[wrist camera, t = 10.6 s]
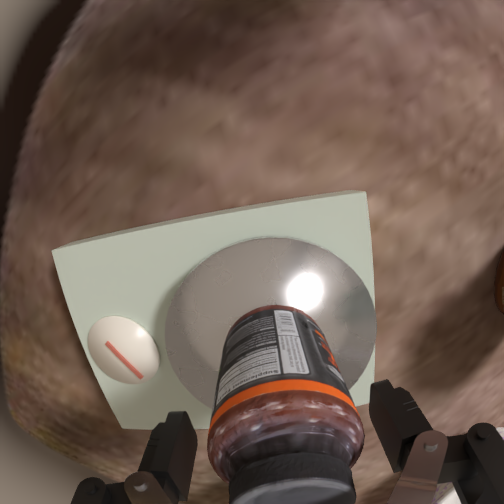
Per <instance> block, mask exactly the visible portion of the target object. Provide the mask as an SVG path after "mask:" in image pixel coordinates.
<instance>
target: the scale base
mask: <svg viewBox="0 0 504 504" xmlns="http://www.w3.org/2000/svg"><path fill="white" fill-rule="evenodd" d="M268 235H274V236H289V237H295V238H300V239H304V240H307V241H310V242H314V243H316V244H318V245H320V246H322V247H324V248H326V249H328V250H330V251H331V252H333V253H334V254H336V255H337V256H339V257H340V258H341V259H342V260H343V261H344V262H345V263H347V264H348V265H349V266H350V267H351V268H352V269H353V270H354V271H355V272H356V274H357V275H358V276H359V277H360V278H361V280H362V281H363V283H364V284H365V286H366V288H367V289H368V291H369V294H370V296H371V299H372V301H373V304H374V309H375V298H374V274H373V258H372V245H371V233H370V223H369V213H368V204H367V196H366V192H364V191H355V190H347V191H340V192H332V193H325V194H318V195H312V196H305V197H298V198H292V199H286V200H279V201H273V202H267V203H261V204H255V205H249V206H243V207H238V208H232V209H226V210H221V211H215V212H210V213H205V214H199V215H194V216H189V217H184V218H179V219H174V220H169V221H164V222H159V223H154V224H149V225H145V226H140V227H135V228H131V229H126V230H122V231H117V232H113V233H108V234H104V235H99V236H95V237H91V238H87V239H82V240H78V241H74V242H71V243H68V244H66V245H63V246H61V247H59V248H56V249H54V250H52V254H53V258H54V262H55V266H56V269H57V273H58V276H59V280H60V283H61V286H62V290H63V293H64V296H65V299H66V302H67V305H68V308H69V311H70V314H71V317H72V319H73V322H74V325H75V328H76V330H77V333H78V336H79V338H80V341H81V343H82V346H83V348H84V351H85V353H86V355H87V358H88V360H89V362H90V365H91V367H92V369H93V372H94V374H95V376H96V378H97V380H98V382H99V385H100V387H101V389H102V391H103V393H104V395H105V397H106V399H107V401H108V403H109V405H110V407H111V409H112V411H113V412H114V414H115V416H116V418H117V420H118V422H119V424H120V425H121V427H122V429H144V430H153V429H154V428H155V427H156V426H157V425H158V423H159V422H165V421H166V418H167V415H168V413H169V412H170V411H186V412H187V413H188V415H189V418H190V420H191V423H192V425H193V427H194V429H209V428H210V421H211V415H212V409H211V408H209V407H207V406H206V405H204V404H203V403H201V402H200V401H199V400H197V399H196V398H195V397H194V396H193V395H192V394H191V393H190V392H189V391H188V390H187V389H186V388H185V387H184V386H183V384H182V383H181V382H180V381H179V379H178V377H177V376H176V374H175V372H174V371H173V368H172V366H171V363H170V361H169V358H168V354H167V351H166V345H165V322H166V317H167V313H168V309H169V307H170V304H171V301H172V299H173V297H174V295H175V293H176V292H177V290H178V288H179V286H180V285H181V283H182V282H183V281H184V279H185V278H186V277H187V275H188V274H189V273H190V271H191V270H192V269H193V268H194V267H196V266H197V265H198V264H199V263H200V262H201V261H202V260H203V259H205V258H206V257H207V256H209V255H210V254H212V253H213V252H215V251H217V250H219V249H220V248H222V247H224V246H226V245H229V244H232V243H234V242H237V241H239V240H244V239H248V238H252V237H259V236H268ZM374 367H375V345H374V350H373V353H372V355H371V358H370V361H369V363H368V365H367V367H366V369H365V370H364V372H363V374H362V375H361V376H360V378H359V379H358V381H357V382H356V383H355V384H354V385H353V387H352V388H351V389H350V390H349V392H350V395H351V397H352V399H353V402H354V404H355V406H359V405H363V404H367V403H369V401H370V386H371V384H372V383H374Z"/></svg>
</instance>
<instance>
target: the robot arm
mask: <svg viewBox="0 0 504 504" xmlns="http://www.w3.org/2000/svg"><path fill="white" fill-rule="evenodd" d="M369 414H370V418H371V421H372V423H373V426H374V428H375V430H376V432H377V435H378V437H379V439H380V442H381V444H382V446H383V449H384V451H385V453H386V455H387V458H388V460H389V463H390V465H391V467H392V470H393V472H394V473H396V472H399V471H402V474H401V477H400V479H399V480H398V481H397V483H396V485H395V488H394V490H393V492H392V494H391V496H390V498H389V500H388V502H387V504H431V503H432V500H433V498H434V495H435V492H436V489H437V484H442V483H448V482H452V484H453V486H454V488H455V490H456V493H457V495H458V497H459V499H460V502H461V504H504V440H503V438H502V437H501V435H500V434H499V432H498V431H497V429H496V428H495V427H494V426H493V425H491V424H489V423H478V424H475V425H473V426H472V427H471V428H470V429H469V431H468V433H467V434H464V435H458V436H445V434H443V433H442V432H439V431H435V430H433V429H432V427H431V425H430V424H429V422H428V421H427V419H426V418H425V416H424V414H423V413H422V411H421V410H420V408H418V405H417V404H416V402H414V399H413V398H412V396H411V395H410V393H409V392H408V391H406V390H405V389H403V388H401V387H398V388H395V389H394V388H393V386H392V385H391V383H390V382H389V380H388V379H386V380H383V381H379V382H375V383H372V384H371V386H370V401H369ZM149 439H150V440H149V441H148V444H147V447H146V449H145V452H144V455H143V458H142V461H141V463H140V466H139V469H138V471H137V472H135V473H132V474H131V475H129V476H128V477H127V478H126V479H125V481H124V482H121V483H113V484H105V483H104V482H103V481H102V480H101V479H99V478H95V477H90V478H87V479H84V480H83V481H82V482H80V484H79V485H78V487H77V489H76V492H75V494H74V497H73V499H72V502H71V504H178V501H187V499H188V493H189V488H190V482H191V477H192V472H193V466H194V461H195V456H196V450H197V435H196V432H195V430H194V427H193V425H192V423H191V420H190V418H189V415H188V413H187V412H186V411H170V412H169V413H168V415H167V418H166V421H165V422H159V423H158V425H157V426H156V427H155V428H154V429H153V430H152V433H151V435H150V438H149Z"/></svg>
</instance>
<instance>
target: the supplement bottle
mask: <svg viewBox="0 0 504 504" xmlns="http://www.w3.org/2000/svg"><path fill="white" fill-rule="evenodd" d="M364 437H365V435H364V429H363V424H362V422H361V419H360V416H359V414H358V412H357V410H356V407H355V404H354V402H353V399H352V397H351V395H350V392H349V391H348V388H347V385H346V383H345V381H344V379H343V377H342V375H341V372H340V370H339V368H338V366H337V364H336V361H335V359H334V356H333V354H332V352H331V349H330V348H329V345H328V342H327V340H326V338H325V335H324V334H323V332H322V331H321V329H320V327H319V326H318V325H317V323H316V322H315V321H314V320H313V319H312V318H311V317H310V316H309V315H307V314H306V313H304V312H303V311H302V310H300V309H297V308H294V307H290V306H283V305H267V306H263V307H260V308H256V309H254V310H251V311H250V312H248V313H246V314H244V315H243V316H242V317H241V318H239V319H238V320H237V321H236V322H235V323H234V324H233V326H232V327H231V328H230V330H229V332H228V334H227V337H226V340H225V343H224V346H223V351H222V357H221V362H220V368H219V374H218V380H217V385H216V391H215V397H214V403H213V409H212V415H211V421H210V428H209V433H208V443H207V450H208V457H209V460H210V463H211V465H212V467H213V469H214V470H215V472H216V473H217V474H218V476H219V477H220V478H221V479H222V480H223V481H225V482H226V483H228V484H229V494H230V499H229V504H355V501H356V492H355V488H354V483H353V479H352V471H351V468H352V467H353V466H354V464H355V463H356V461H357V460H358V458H359V457H360V454H361V452H362V449H363V445H364Z"/></svg>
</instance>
